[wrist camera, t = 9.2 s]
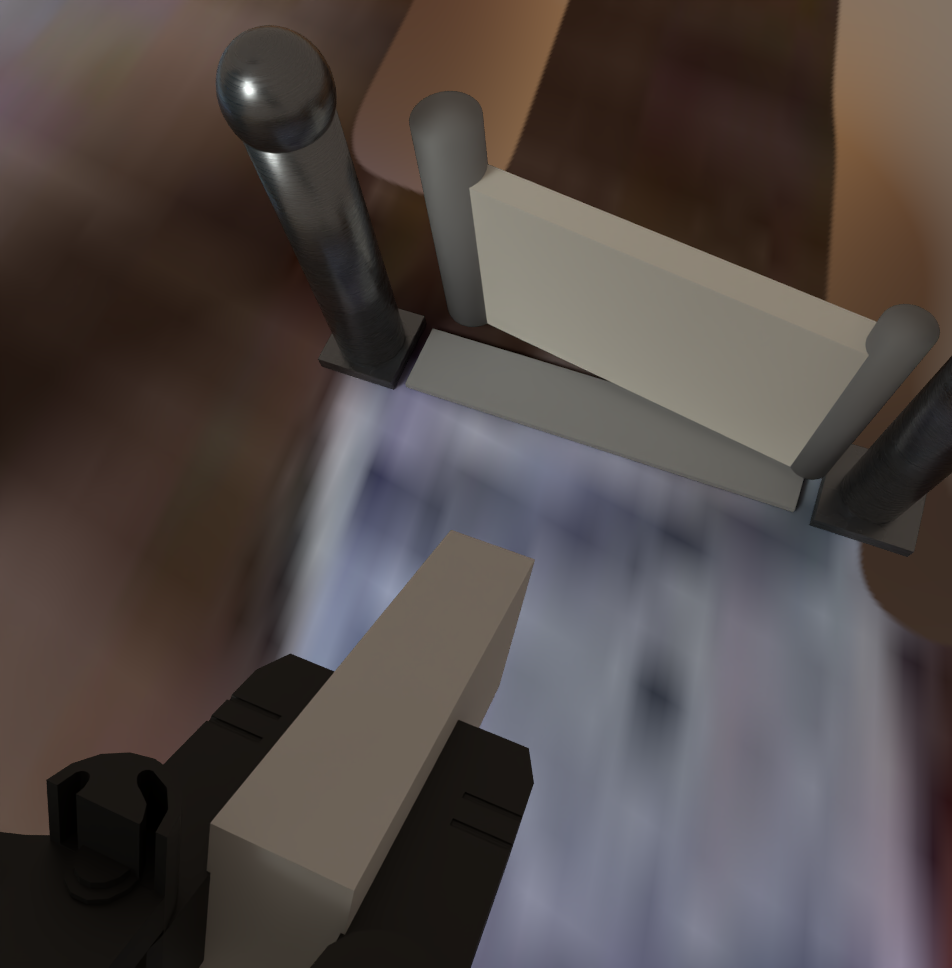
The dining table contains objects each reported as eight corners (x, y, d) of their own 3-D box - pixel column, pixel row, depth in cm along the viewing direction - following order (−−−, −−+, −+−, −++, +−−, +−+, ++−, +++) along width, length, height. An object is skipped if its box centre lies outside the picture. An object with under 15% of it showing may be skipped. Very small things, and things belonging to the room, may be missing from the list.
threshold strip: (406, 387, 34) (405, 383, 33) (433, 332, 34) (432, 328, 34) (792, 512, 30) (795, 509, 29) (811, 446, 31) (813, 443, 30)
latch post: (321, 366, 34) (167, 72, 21) (356, 302, 36) (232, -16, 22) (393, 389, 34) (283, 100, 20) (426, 323, 35) (344, 7, 21)
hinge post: (809, 524, 30) (984, 335, 18) (830, 445, 31) (1008, 217, 19) (907, 556, 29) (1160, 380, 17) (925, 474, 30) (1174, 253, 18)
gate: (841, 445, 30) (971, 285, 21) (816, 495, 29) (939, 352, 20) (466, 274, 35) (435, 82, 25) (437, 313, 34) (394, 130, 25)
